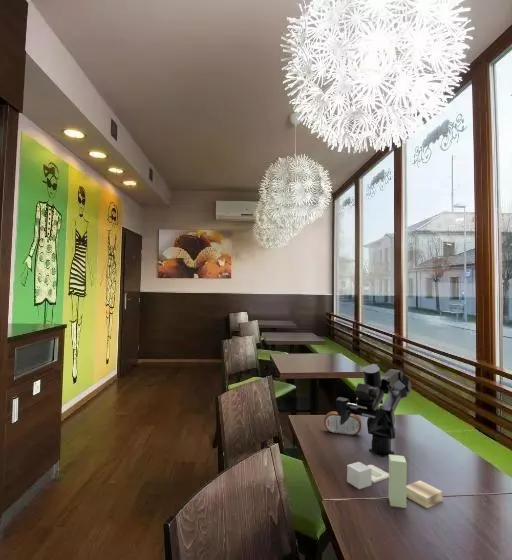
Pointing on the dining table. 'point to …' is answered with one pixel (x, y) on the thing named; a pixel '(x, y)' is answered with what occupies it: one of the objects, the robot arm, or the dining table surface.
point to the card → (377, 474)
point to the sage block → (397, 481)
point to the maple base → (423, 494)
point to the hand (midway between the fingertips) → (354, 427)
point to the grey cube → (359, 475)
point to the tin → (348, 427)
